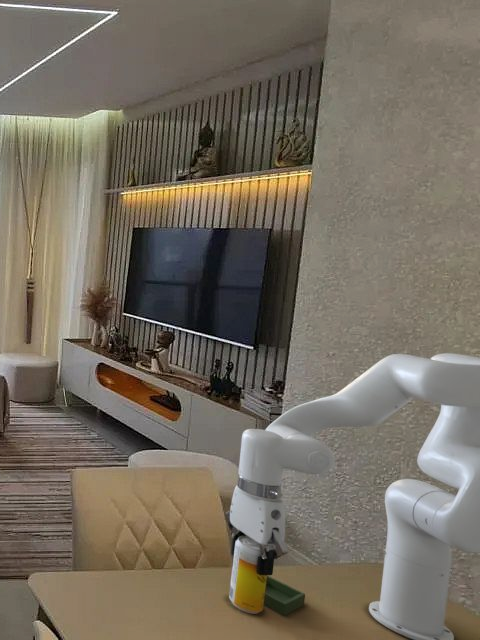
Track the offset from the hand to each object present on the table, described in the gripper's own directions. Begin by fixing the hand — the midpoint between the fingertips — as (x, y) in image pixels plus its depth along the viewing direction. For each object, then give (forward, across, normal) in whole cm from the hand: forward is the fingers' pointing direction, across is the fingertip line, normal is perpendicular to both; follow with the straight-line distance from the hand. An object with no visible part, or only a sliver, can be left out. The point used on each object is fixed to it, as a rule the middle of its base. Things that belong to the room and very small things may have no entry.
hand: (251, 564), depth 119 cm
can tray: (+10, +3, -9) cm, 14 cm away
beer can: (+10, 0, 0) cm, 10 cm away
